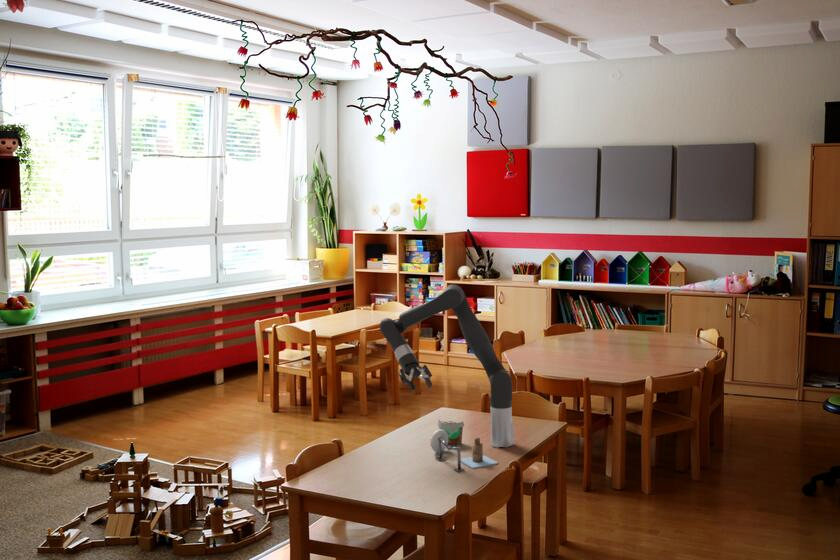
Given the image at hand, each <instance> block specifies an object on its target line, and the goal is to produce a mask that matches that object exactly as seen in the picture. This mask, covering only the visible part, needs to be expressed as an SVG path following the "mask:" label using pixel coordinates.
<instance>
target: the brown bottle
mask: <svg viewBox="0 0 840 560" xmlns="http://www.w3.org/2000/svg"><path fill="white" fill-rule="evenodd" d="M471 445H472V446H471V449H472V450H471V451H472V453H471V455H472V456H471V457H472V458H473V462H477V463H478V462H482V461H483V455H484V454H483V453H484V450H483V449H484V448H483V447H484V446H483V445H484V444H483V443H482V442H481V438H480V437H474V442H473V443H472V444H471Z"/></svg>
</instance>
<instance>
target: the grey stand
mask: <svg viewBox="0 0 840 560" xmlns="http://www.w3.org/2000/svg"><path fill="white" fill-rule="evenodd" d="M441 442H442V443H443V444H444V445H445V446H446V448H445V449H447V450H448V451H450V450H451V451H456V452H457V453H456V455H457V467H455V468H453V471H455V472H456V473H461V472H462V471H463V472H465V468H463V467H462V463H461V459H462V458H461V456H462V455H461V450H462V449H461V448H462V447H461V446H458V445H457V446H449V445H448V444H447V443H446V442H445V441H444V440H443V439H442V438H441V437H438V444H439V453H438V456H436V457H435V460H436V461H438V462H443V461H446V457H444V456H443V451H442V447H441ZM442 460H443V461H442Z"/></svg>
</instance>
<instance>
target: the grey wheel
mask: <svg viewBox="0 0 840 560" xmlns="http://www.w3.org/2000/svg"><path fill="white" fill-rule="evenodd" d="M438 437H441V438H442V439H443V440H444V441H445V442H446V443H447V444H448V435H447V433H446V431H445V430H442V429H439V428H438V429H437V430H435V431H434V432H433V434H432V435H431V438H430V447H431V449H432V451H433V452H434V453H437V454H439V443H438ZM441 447H442V452H444V451H445V449H447V448H446V446H445V445H444V444H443V443H442V442H441Z"/></svg>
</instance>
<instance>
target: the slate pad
mask: <svg viewBox="0 0 840 560" xmlns="http://www.w3.org/2000/svg"><path fill="white" fill-rule="evenodd" d="M461 464H463V465H465V466H467V467H469V469H472V470H474V469H480V468H484V467H485V468H486V467H490V466H495V465H499V462H498V461H496V460H494V459H492V458H490V457H489V456H486V455H484V454H483V461H482V462H478V463H477V462H473V458H472V456H468V457H463V458H461Z"/></svg>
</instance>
